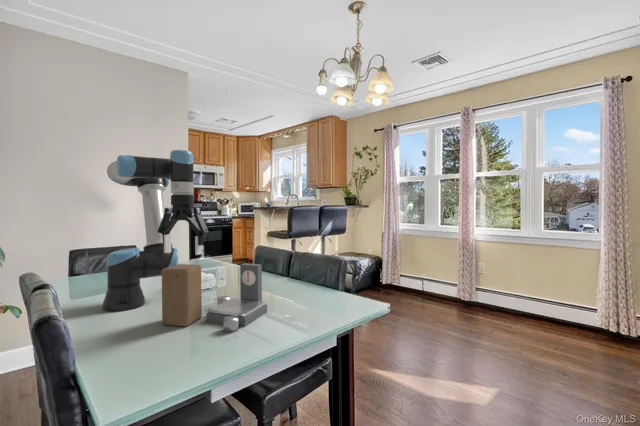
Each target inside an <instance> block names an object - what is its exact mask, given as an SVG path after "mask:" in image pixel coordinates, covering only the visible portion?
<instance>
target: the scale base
mask: <svg viewBox="0 0 640 426" xmlns="http://www.w3.org/2000/svg"><path fill="white" fill-rule="evenodd" d="M239 269H240V270H239V271H240V273H239V275H240V277H239V278H240V279H239V280H240V288H239V289H240V292H239V293H240V294H239V295H240V299H245V300H254V301H262V300H263V290H262V289H263V286H262V285H263V279H262V275H263V273H262V272H263V271H262V269H263V267H262V264H258V263H247V262H246V263H244V262H243V263H242V264H240V266H239ZM266 312H267V313H268V304H266V303H265V305H263V306H262V307H260V308H258V309H257V310H255V311H254V312H252V313H250V314H249V315H247V316H245V317H242V316H237V317H239V327H244V328H245V327H247V326H248V325H250V324H252V323H253V322H255V321H256V320H257V319H259V318H261V317H262V316H263V314H264V315H266ZM227 316H234V315H226V314H218V313H211V312H209V311H208V312H206V322H209V323H215V324H216V323H217V324H223V318H225V317H227Z"/></svg>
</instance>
